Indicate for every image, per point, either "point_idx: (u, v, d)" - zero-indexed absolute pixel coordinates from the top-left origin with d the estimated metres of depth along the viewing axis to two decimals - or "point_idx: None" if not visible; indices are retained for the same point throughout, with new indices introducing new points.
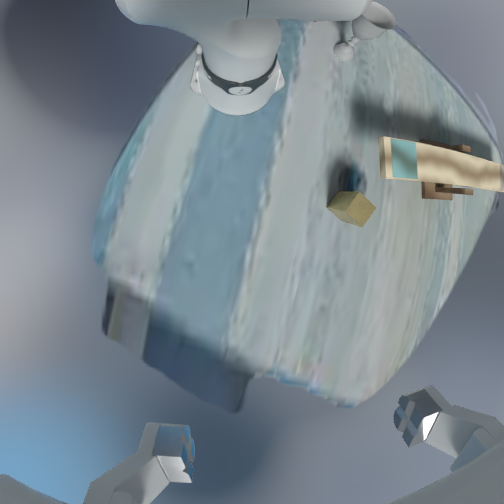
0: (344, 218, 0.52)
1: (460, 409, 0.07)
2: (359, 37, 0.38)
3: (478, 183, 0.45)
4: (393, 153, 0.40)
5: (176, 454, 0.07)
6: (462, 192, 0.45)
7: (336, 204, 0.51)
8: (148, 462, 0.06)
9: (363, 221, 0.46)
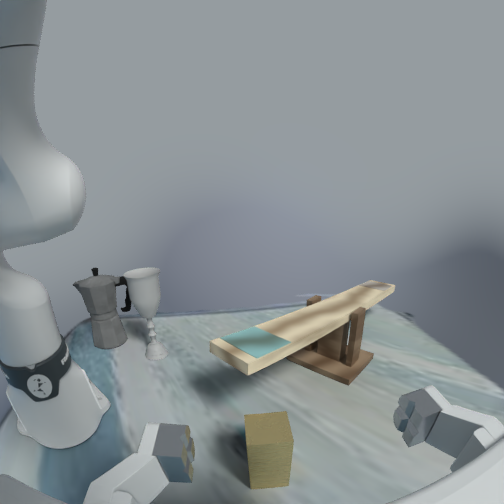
0: (276, 470, 0.23)
1: (460, 409, 0.07)
2: (146, 313, 0.50)
3: (359, 303, 0.49)
4: (235, 344, 0.33)
5: (176, 454, 0.07)
6: (356, 318, 0.43)
7: None
8: (148, 462, 0.06)
9: (287, 435, 0.22)
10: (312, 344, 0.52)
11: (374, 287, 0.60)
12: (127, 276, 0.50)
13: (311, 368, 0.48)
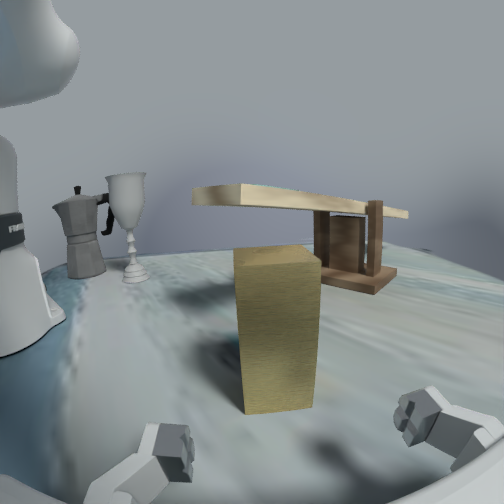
0: (291, 357, 0.15)
1: (460, 409, 0.07)
2: (126, 220, 0.42)
3: None
4: None
5: (176, 454, 0.07)
6: (373, 207, 0.36)
7: None
8: (148, 462, 0.06)
9: (308, 257, 0.15)
10: (322, 258, 0.45)
11: None
12: None
13: (324, 281, 0.40)
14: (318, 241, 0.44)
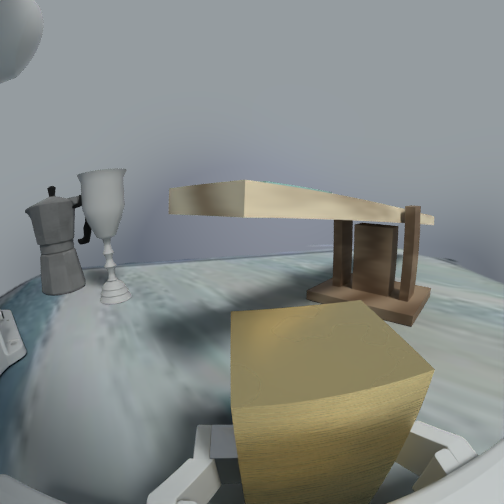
0: (335, 502, 0.06)
1: (424, 425, 0.07)
2: (101, 228, 0.33)
3: None
4: None
5: (234, 455, 0.07)
6: (412, 214, 0.26)
7: None
8: (207, 466, 0.06)
9: (400, 354, 0.06)
10: (343, 276, 0.35)
11: None
12: None
13: None
14: (339, 255, 0.34)
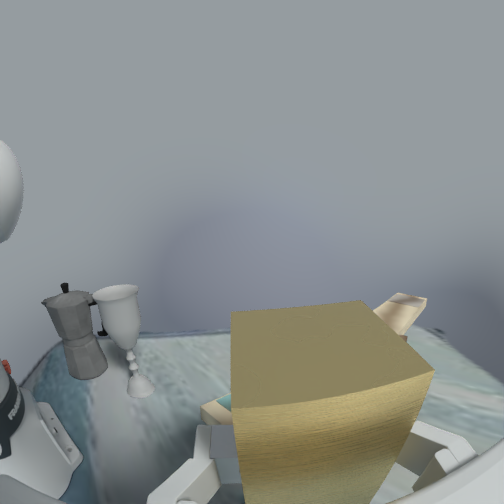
0: (335, 502, 0.06)
1: (424, 425, 0.07)
2: (124, 343, 0.37)
3: (396, 327, 0.36)
4: None
5: (234, 455, 0.07)
6: None
7: None
8: (207, 466, 0.06)
9: (400, 355, 0.06)
10: None
11: (406, 303, 0.47)
12: (98, 296, 0.37)
13: None
14: None
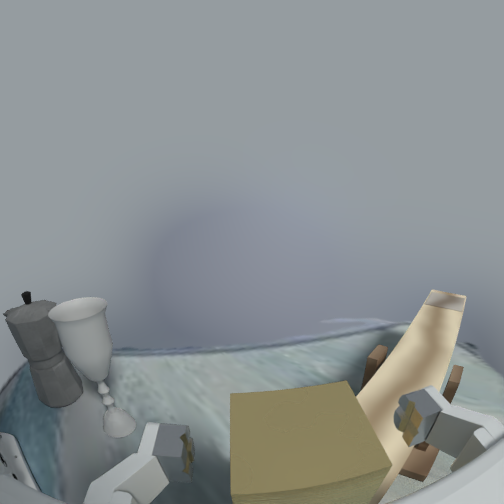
0: None
1: (459, 409, 0.07)
2: (91, 375, 0.25)
3: (445, 350, 0.24)
4: None
5: (176, 454, 0.07)
6: (453, 389, 0.19)
7: None
8: (148, 462, 0.06)
9: (367, 448, 0.06)
10: None
11: (446, 306, 0.35)
12: (57, 312, 0.25)
13: None
14: None
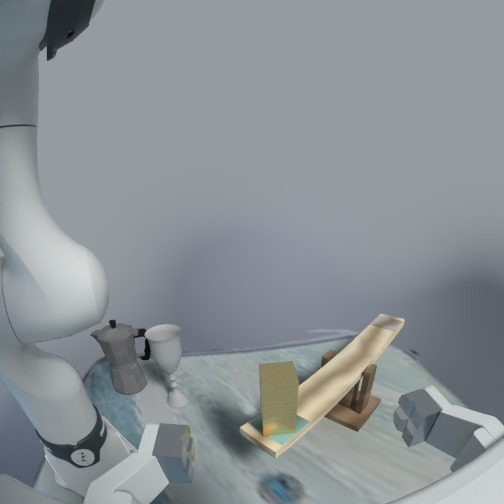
0: (285, 414, 0.31)
1: (460, 409, 0.07)
2: (169, 369, 0.50)
3: (370, 355, 0.49)
4: (262, 429, 0.34)
5: (176, 454, 0.07)
6: (367, 376, 0.44)
7: None
8: (148, 462, 0.06)
9: (293, 377, 0.31)
10: None
11: (385, 326, 0.60)
12: (148, 334, 0.51)
13: None
14: None
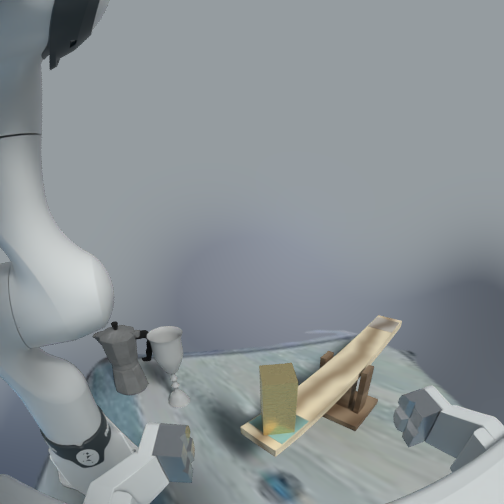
0: (284, 413, 0.32)
1: (460, 409, 0.07)
2: (171, 370, 0.51)
3: (368, 356, 0.51)
4: (262, 428, 0.35)
5: (176, 454, 0.07)
6: (365, 377, 0.45)
7: (262, 412, 0.33)
8: (148, 462, 0.06)
9: (293, 378, 0.32)
10: None
11: (382, 328, 0.61)
12: (150, 336, 0.52)
13: None
14: None
